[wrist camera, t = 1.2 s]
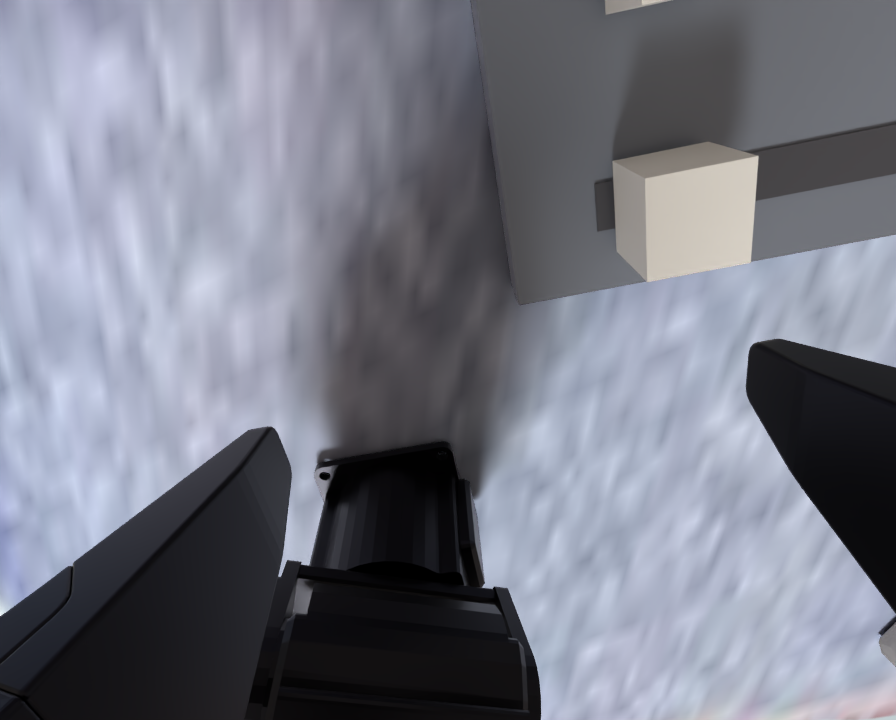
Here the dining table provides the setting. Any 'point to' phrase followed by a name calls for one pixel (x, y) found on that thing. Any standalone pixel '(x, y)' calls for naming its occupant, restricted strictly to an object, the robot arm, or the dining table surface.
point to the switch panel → (685, 120)
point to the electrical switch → (889, 644)
